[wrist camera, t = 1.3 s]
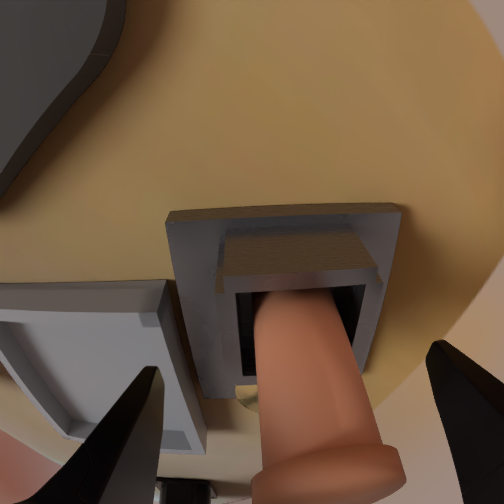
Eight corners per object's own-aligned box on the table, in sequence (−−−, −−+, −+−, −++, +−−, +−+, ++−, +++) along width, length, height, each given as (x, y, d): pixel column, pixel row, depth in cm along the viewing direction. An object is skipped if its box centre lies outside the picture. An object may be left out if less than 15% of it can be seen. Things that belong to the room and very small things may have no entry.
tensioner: (353, 373, 18) (370, 427, 15) (204, 385, 18) (201, 443, 14) (391, 202, 12) (439, 252, 9) (170, 211, 12) (145, 268, 9)
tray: (206, 429, 21) (205, 454, 19) (70, 417, 21) (63, 438, 19) (166, 279, 14) (156, 312, 12) (-14, 283, 14) (-33, 306, 12)
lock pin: (326, 313, 14) (380, 504, 6) (245, 319, 14) (254, 523, 6) (335, 242, 12) (430, 459, 5) (240, 247, 12) (249, 493, 5)
